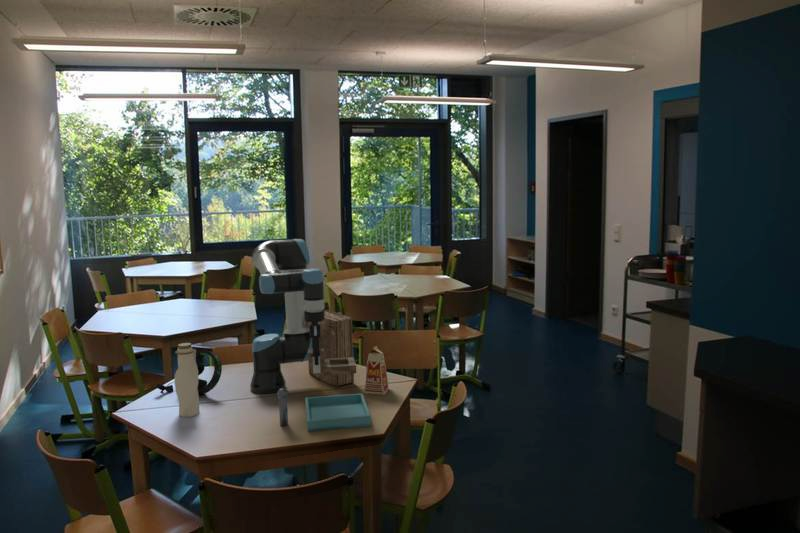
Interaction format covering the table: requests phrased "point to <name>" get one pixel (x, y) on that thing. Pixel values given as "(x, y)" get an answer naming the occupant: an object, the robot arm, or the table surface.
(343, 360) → the tan blocky piece
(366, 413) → the tray
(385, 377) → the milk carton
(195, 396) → the water bottle
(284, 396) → the dark grey rod
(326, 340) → the book
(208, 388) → the headset
